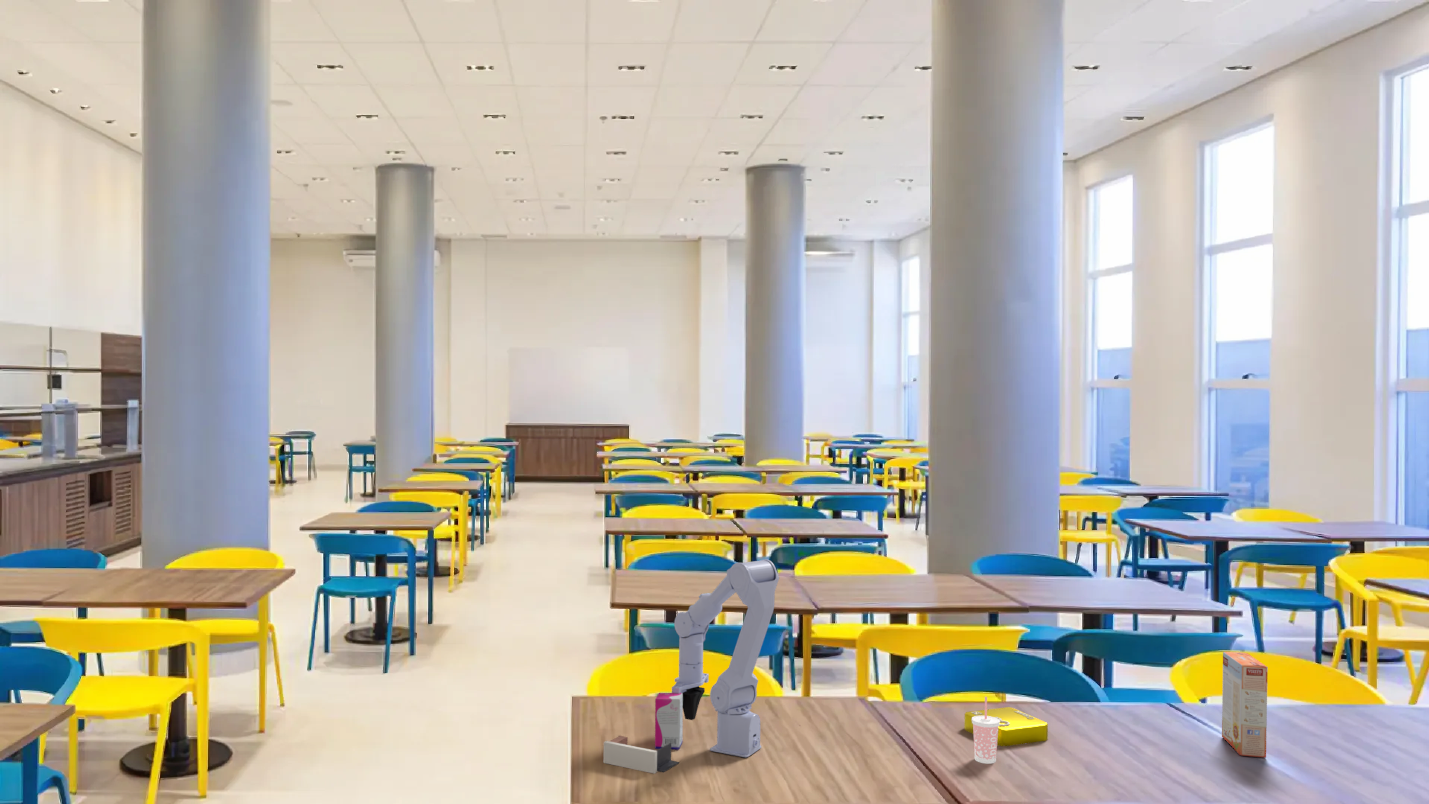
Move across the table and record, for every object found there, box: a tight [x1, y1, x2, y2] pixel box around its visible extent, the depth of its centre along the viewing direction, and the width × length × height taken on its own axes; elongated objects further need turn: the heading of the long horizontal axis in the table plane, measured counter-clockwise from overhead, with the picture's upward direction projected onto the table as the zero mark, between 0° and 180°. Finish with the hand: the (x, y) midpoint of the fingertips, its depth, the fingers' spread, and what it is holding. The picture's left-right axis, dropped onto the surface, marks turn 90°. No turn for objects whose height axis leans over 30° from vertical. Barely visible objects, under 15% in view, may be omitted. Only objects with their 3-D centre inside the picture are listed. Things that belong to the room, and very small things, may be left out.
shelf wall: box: [603, 740, 658, 774], centre depth 214 cm, size 13×1×4 cm, turn 62°
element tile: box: [963, 706, 1049, 747], centre depth 240 cm, size 15×15×5 cm
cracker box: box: [1221, 651, 1269, 759], centre depth 232 cm, size 14×6×21 cm, turn 168°
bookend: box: [656, 743, 680, 773], centre depth 215 cm, size 2×6×4 cm, turn 152°
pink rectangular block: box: [609, 735, 629, 745], centre depth 221 cm, size 2×6×4 cm, turn 152°
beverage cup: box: [972, 696, 1000, 765], centre depth 222 cm, size 6×6×14 cm
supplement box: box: [654, 692, 684, 751], centre depth 229 cm, size 6×6×12 cm
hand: (690, 718), depth 238 cm, fingers closed
